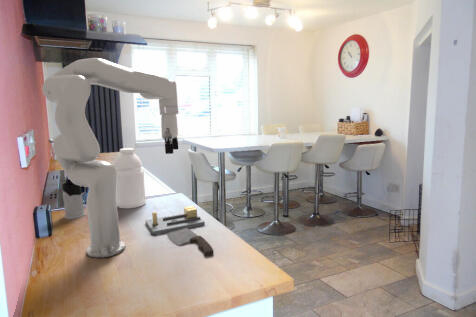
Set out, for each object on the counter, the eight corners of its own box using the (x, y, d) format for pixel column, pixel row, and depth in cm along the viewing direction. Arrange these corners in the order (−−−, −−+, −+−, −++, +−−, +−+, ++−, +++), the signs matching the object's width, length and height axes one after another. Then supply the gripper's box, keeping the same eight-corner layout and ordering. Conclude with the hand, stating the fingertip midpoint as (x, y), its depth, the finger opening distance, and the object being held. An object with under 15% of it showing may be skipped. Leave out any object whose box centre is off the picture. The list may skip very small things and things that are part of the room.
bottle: (130, 199, 183) (126, 146, 178) (151, 202, 177) (147, 147, 172) (110, 207, 170) (105, 150, 165) (132, 210, 164) (127, 151, 159)
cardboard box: (197, 218, 146) (196, 208, 145) (188, 220, 144) (187, 210, 144) (193, 214, 150) (192, 205, 150) (184, 216, 149) (183, 207, 148)
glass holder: (62, 215, 160) (58, 183, 157) (94, 208, 169) (90, 178, 166) (67, 220, 153) (63, 187, 150) (100, 212, 162) (97, 181, 159)
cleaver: (220, 253, 117) (220, 248, 117) (193, 261, 112) (193, 255, 112) (184, 228, 142) (184, 223, 142) (161, 233, 137) (160, 228, 136)
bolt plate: (204, 225, 143) (204, 209, 142) (153, 235, 134) (152, 219, 133) (193, 215, 155) (192, 201, 154) (145, 223, 146) (144, 208, 145)
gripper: (165, 109, 153) (168, 148, 156) (154, 112, 136) (158, 155, 140) (182, 109, 153) (184, 147, 156) (173, 111, 136) (176, 155, 139)
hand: (172, 151), depth 148 cm, fingers open, 9 cm apart
